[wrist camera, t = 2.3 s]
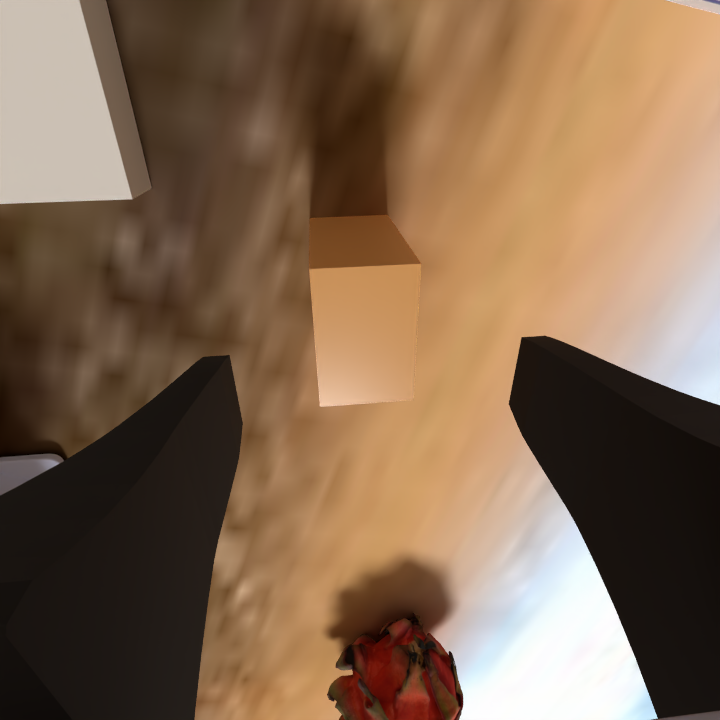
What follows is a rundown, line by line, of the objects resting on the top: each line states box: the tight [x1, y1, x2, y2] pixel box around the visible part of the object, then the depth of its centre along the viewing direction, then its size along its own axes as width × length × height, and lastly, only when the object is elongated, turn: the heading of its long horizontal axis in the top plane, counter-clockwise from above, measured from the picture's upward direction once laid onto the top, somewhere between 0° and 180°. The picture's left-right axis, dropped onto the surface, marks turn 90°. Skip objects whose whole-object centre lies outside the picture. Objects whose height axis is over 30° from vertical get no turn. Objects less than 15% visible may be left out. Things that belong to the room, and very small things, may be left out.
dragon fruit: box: [327, 613, 463, 720], centre depth 30 cm, size 8×8×12 cm
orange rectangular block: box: [309, 215, 421, 407], centre depth 15 cm, size 4×3×6 cm, turn 1°
